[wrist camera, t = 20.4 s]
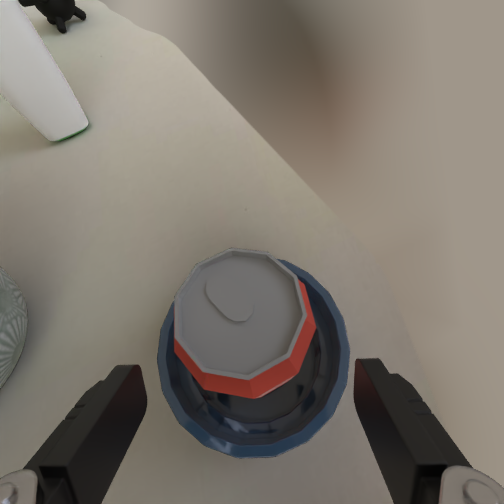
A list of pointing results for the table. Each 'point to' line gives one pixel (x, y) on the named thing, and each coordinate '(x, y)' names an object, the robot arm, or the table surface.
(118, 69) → the table surface
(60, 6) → the toy ball
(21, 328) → the planter
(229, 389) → the beverage can
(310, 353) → the bowl
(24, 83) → the cup
